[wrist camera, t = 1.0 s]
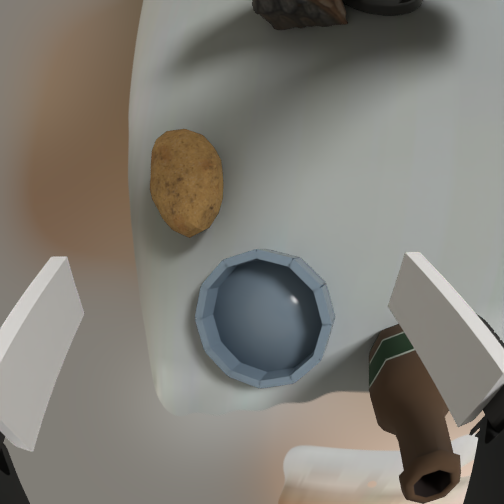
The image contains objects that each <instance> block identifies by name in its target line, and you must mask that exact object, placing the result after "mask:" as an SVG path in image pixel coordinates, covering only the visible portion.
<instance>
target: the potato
mask: <svg viewBox="0 0 504 504" xmlns="http://www.w3.org/2000/svg"><path fill="white" fill-rule="evenodd" d="M150 191H151V196H152V199H153V201H154V203H155V205H156V207H157V209H158V210H159V212H160V214H161V216H162V218H163V219H164V221H165V222H166V223H167V224H168V225H169V226H170V228H171V229H172V230H174V231H176V232H178V233H180V234H183V235H185V236H187V237H189V238H190V237H192V236H194V235H196V234H198V233H200V232H202V231H204V230H205V229H207V228H209V227H210V226H211V224H212V223H213V221H214V219H215V218H216V216H217V215H218V213H219V210H220V206H221V203H222V199H223V172H222V164H221V159H220V157H219V155H218V154H217V152H216V150H215V148H214V147H213V146H212V145H211V143H210V142H209V141H208V140H207V139H206V138H205V137H204V136H203V135H201V134H198V133H195V132H192V131H189V130H186V129H180V130H173V131H167V132H165V133H164V134H163V135H161V136H160V137H159V138H158V139H156V142H155V144H154V147H153V149H152V157H151V180H150Z"/></svg>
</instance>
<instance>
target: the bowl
mask: <svg viewBox="0 0 504 504" xmlns="http://www.w3.org/2000/svg"><path fill="white" fill-rule="evenodd" d="M324 283H325V281H324V280H323V279H322V278H321V277H320V276H319V275H318V274H317V273H316V272H315V271H314V270H313V269H312V268H311V267H310V266H309V265H308V264H307V263H306V262H305V261H304V260H303V259H302V258H300V257H297V256H293V255H289V254H285V253H281V252H277V251H273V250H269V249H255V250H252V251H248V252H245V253H242V254H239V255H236V256H233V257H230V258H227V259H223V260H222V261H221V262H220V264H219V265H218V266H217V267H216V268H215V269H214V271H213V272H212V273H211V274H210V275H209V276H208V278H207V279H206V280H205V281H204V282H203V283H202V286H201V287H200V293H199V298H198V303H197V309H196V314H195V318H196V319H195V321H196V325H197V328H198V332H199V335H200V338H201V342H202V345H203V348H204V350H206V351H205V352H206V353H207V355H208V356H209V357H210V358H211V359H212V360H213V361H214V362H215V363H216V364H217V365H218V367H219V368H220V369H221V370H222V371H223V372H224V373H225V374H226V375H227V376H228V375H229V376H228V377H231V378H233V379H236V380H238V381H241V382H244V383H246V384H249V385H252V386H254V387H257V388H267V387H274V386H281V385H287V384H293V383H295V382H296V381H298V380H299V379H300V378H301V377H302V376H304V375H305V374H306V373H307V372H308V371H310V370H311V369H312V368H313V367H314V366H315V365H317V364H318V363H319V362H320V361H321V359H322V357H323V355H324V352H325V350H326V347H327V344H328V340H329V337H330V334H331V330H332V327H333V324H334V320H335V314H334V310H333V306H332V302H331V299H330V295H329V291H328V287H327V284H324Z"/></svg>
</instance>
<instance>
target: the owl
mask: <svg viewBox="0 0 504 504" xmlns="http://www.w3.org/2000/svg"><path fill="white" fill-rule="evenodd" d="M252 1H253V2H252V6H253V9H254V11H255V13H256V14H260V15H261V16H262V17H263V18H265V19H266V20H267V21H268V22H269V23H270V24H272V25H273V28H274V29H277V30H285V29H290V28H294V27H298V28H304V27H307V26H309V27H310V26H322V27H325V26H332V25H341V24H348V22H347V20H346V10H345V7H344V4H343V2H342V0H252Z"/></svg>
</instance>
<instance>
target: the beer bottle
mask: <svg viewBox="0 0 504 504" xmlns="http://www.w3.org/2000/svg"><path fill="white" fill-rule="evenodd" d="M369 391H370V397H371V401H372V405H373V408H374V412H375V415H376V419H377V423H378V425H379V426H380V427H381V428H382V429H383V430H384V431H387V432H389V433H392V434H394V435H396V437H397V439H398V441H399V447H400V452H401V457H402V463H403V468H404V471H403V472H402V473H401V474H400V475H399V480H400V484H401V489H402V493H403V495H404V496H405V498H406V499H407V500H410V501H414V502H418V503H422V504H424V503H427V502H430V501H433V500H436V499H439V498H442V497H445V496H446V495H447V494H448V493H449V492H450V491H451V490H452V489H453V488H454V487H455V486H456V485H457V484H458V483H459V482H460V474H461V465H460V455H458V454H454V453H453V450H452V445H451V441H450V437H449V432H448V428H447V424H446V421H445V415H446V414H447V413H448V411H449V409H448V407H447V405H446V403H445V401H444V399H443V398H442V396H441V394H440V392H439V390H438V389H437V387H436V385H435V383H434V381H433V380H432V378H431V376H430V374H429V373H428V371H427V369H426V367H425V366H424V364H423V362H422V361H421V359H420V357H419V355H418V354H417V352H416V350H415V349H414V347H413V346H412V344H411V342H410V341H409V339H408V337H407V336H406V334H405V332H404V331H403V329H402V328H401V326H400V325H399V324H398V325H395V326H392V327H390V328H387V329H384V330H382V331H381V332H380V334H379V336H378V338H377V340H376V341H375V343H374V345H373V347H372V349H371V351H370V354H369Z"/></svg>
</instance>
